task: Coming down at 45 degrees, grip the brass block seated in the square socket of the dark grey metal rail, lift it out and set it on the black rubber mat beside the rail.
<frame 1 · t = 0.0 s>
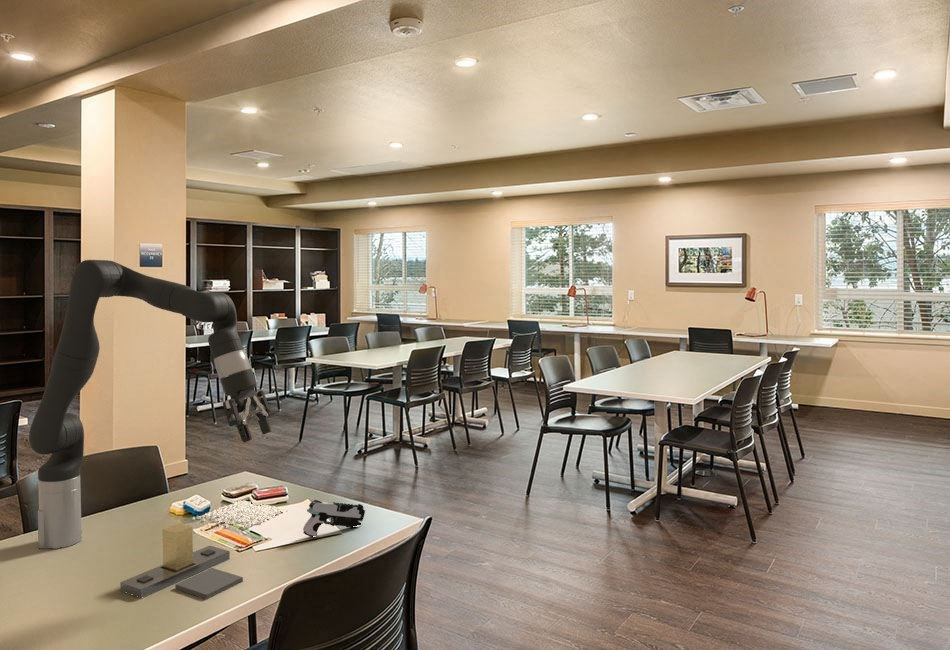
hand: (257, 437, 161), 31 cm above the table, tool tilted 20°, fingers open, 8 cm apart
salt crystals: (242, 517, 198), on the table
rail: (178, 574, 158), on the table
toy gun: (335, 533, 186), on the table
mat: (209, 585, 152), on the table
brass block: (177, 551, 157), in the rail
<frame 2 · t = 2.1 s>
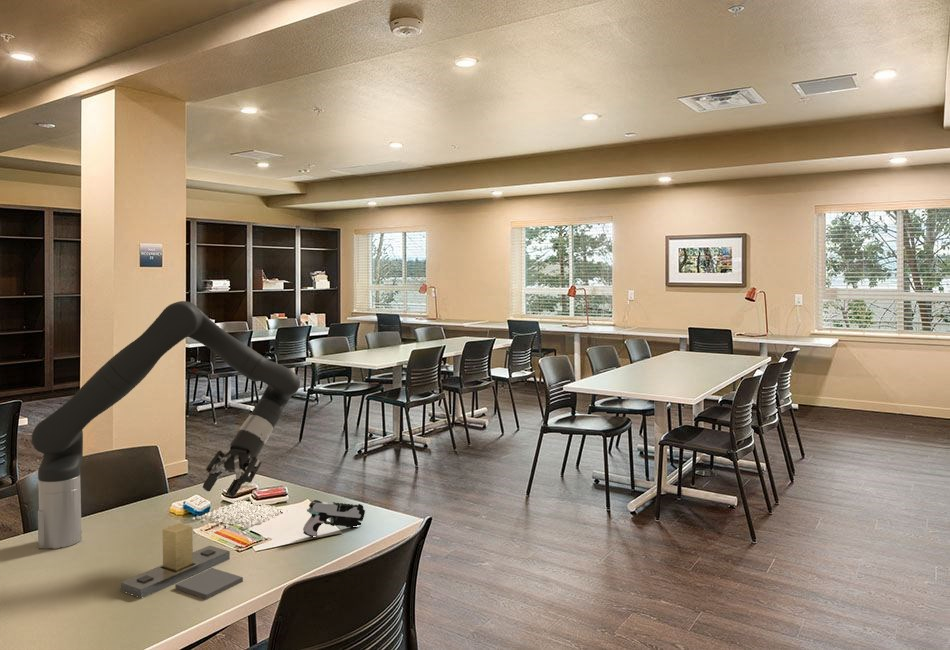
hand: (217, 492, 167), 16 cm above the table, tool tilted 45°, fingers open, 8 cm apart
nothing on the table moved.
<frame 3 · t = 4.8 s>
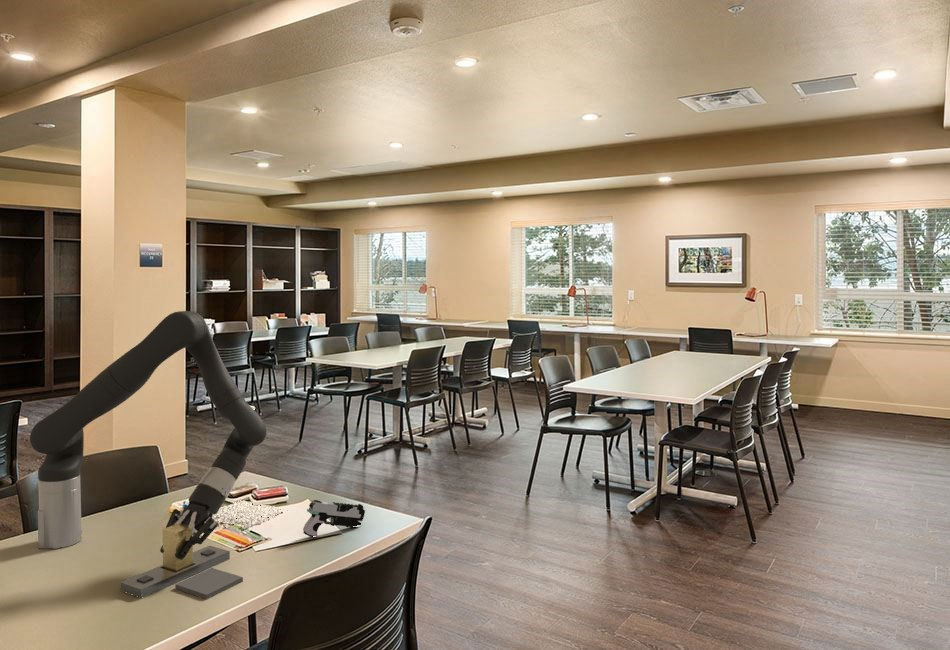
hand: (170, 555, 156), 5 cm above the table, tool tilted 45°, fingers closed on brass block, 4 cm apart
brass block: (177, 551, 157), in the rail, touching gripper
everything else where it was.
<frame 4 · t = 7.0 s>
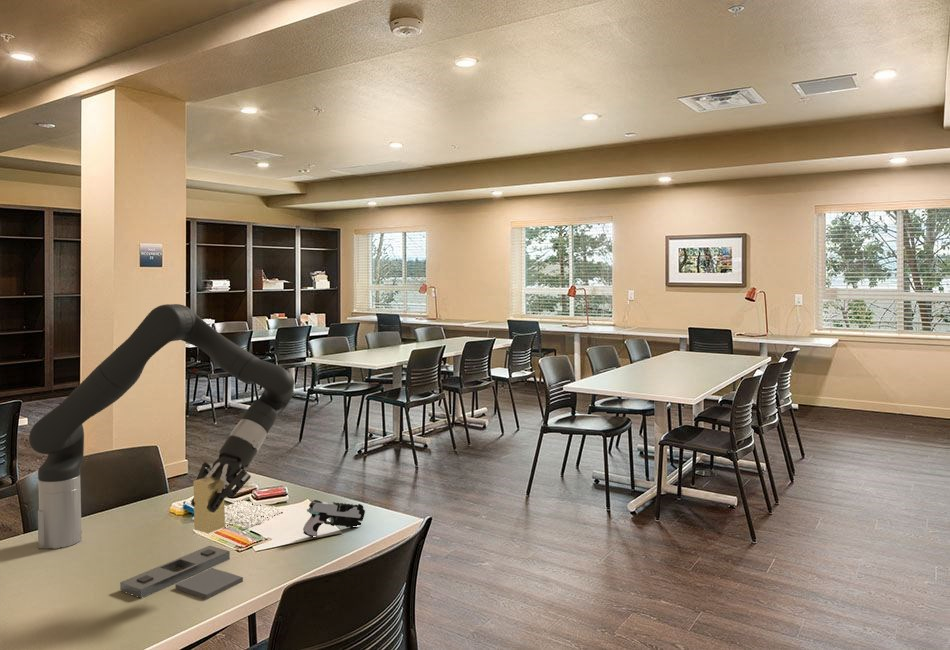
hand: (202, 508, 150), 18 cm above the table, tool tilted 45°, fingers closed on brass block, 4 cm apart
brass block: (209, 504, 151), point 18 cm above the table, touching gripper
everything else where it was.
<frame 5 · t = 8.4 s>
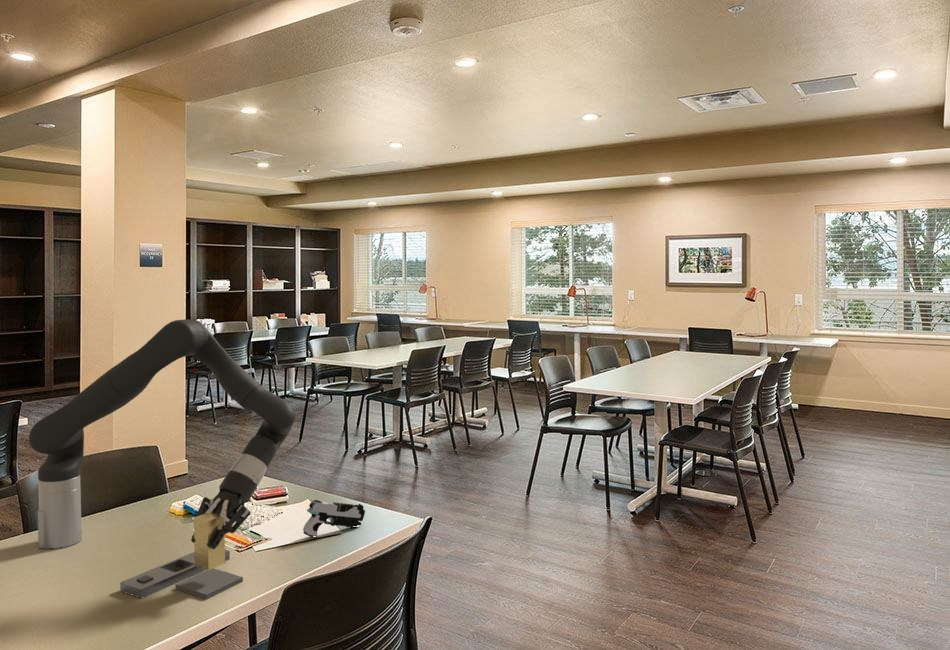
hand: (202, 544, 150), 10 cm above the table, tool tilted 45°, fingers closed on brass block, 4 cm apart
brass block: (209, 540, 152), point 10 cm above the table, touching gripper
everything else where it was.
when the fingers open (7 cm above the table, at t = 9.3 s): brass block drops 1 cm, resting on mat.
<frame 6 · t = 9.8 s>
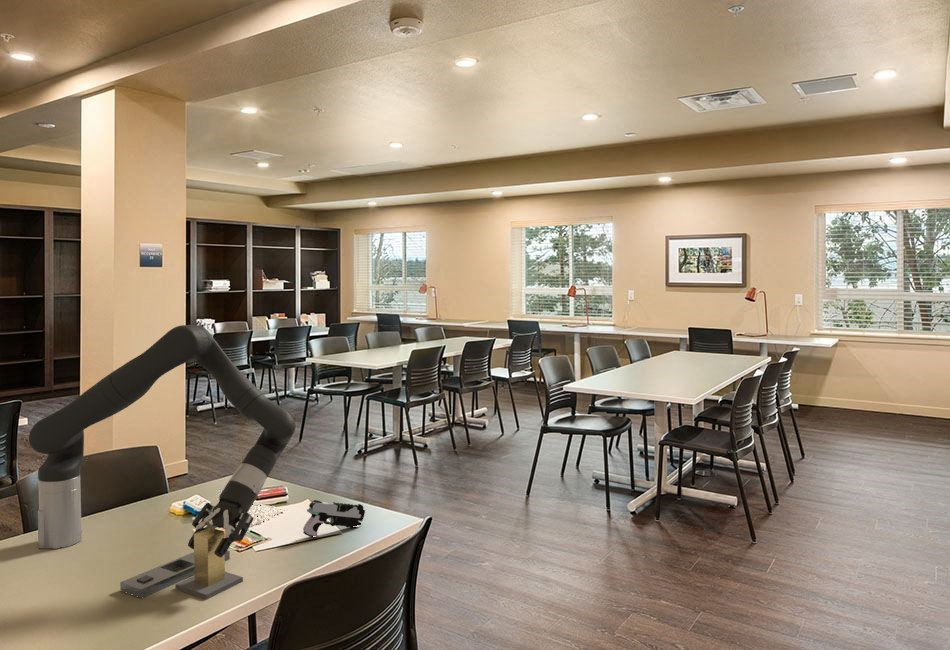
hand: (204, 551, 151), 8 cm above the table, tool tilted 45°, fingers open, 8 cm apart
brass block: (209, 556, 152), on the mat, point 6 cm above the table
everything else where it was.
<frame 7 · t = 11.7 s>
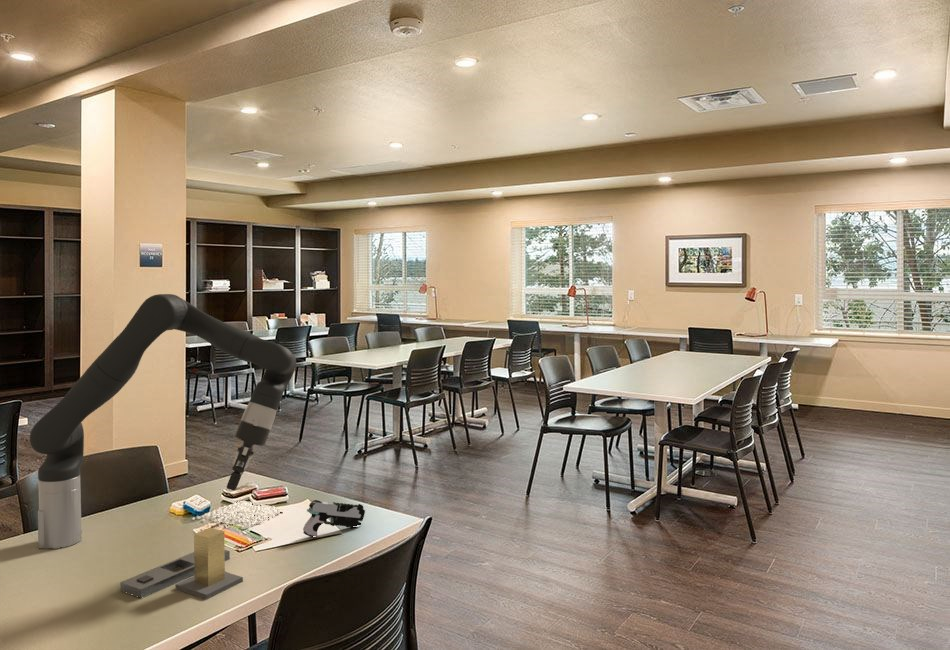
hand: (231, 487, 164), 18 cm above the table, tool tilted 25°, fingers open, 8 cm apart
nothing on the table moved.
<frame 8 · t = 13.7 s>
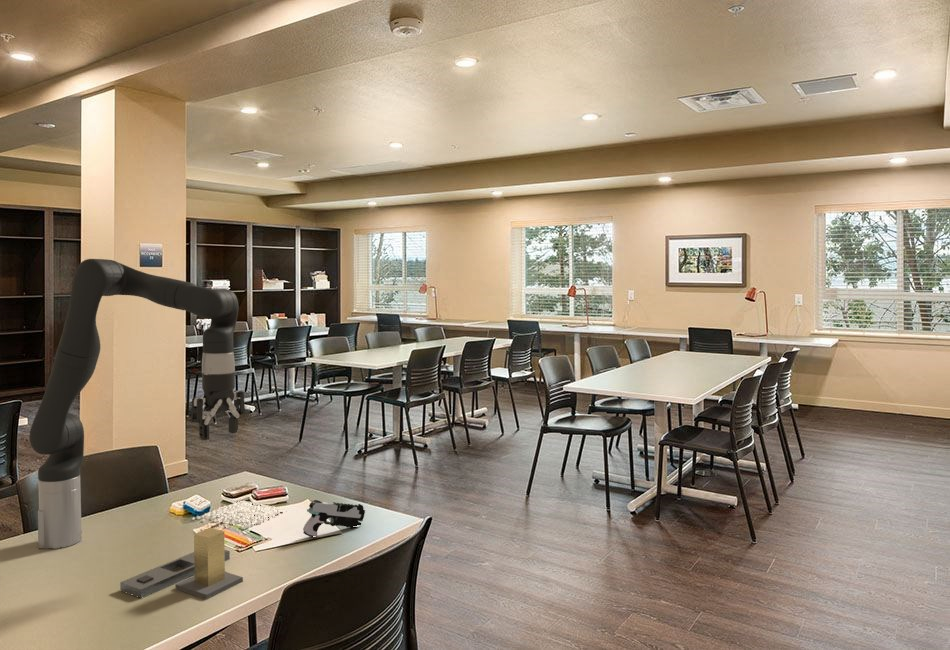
hand: (219, 436, 167), 30 cm above the table, tool pointing down, fingers open, 8 cm apart
nothing on the table moved.
at the end: brass block 0.1 cm from the mat (horizontally); brass block point 6.5 cm above the table; brass block moved 10.8 cm from its start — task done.
